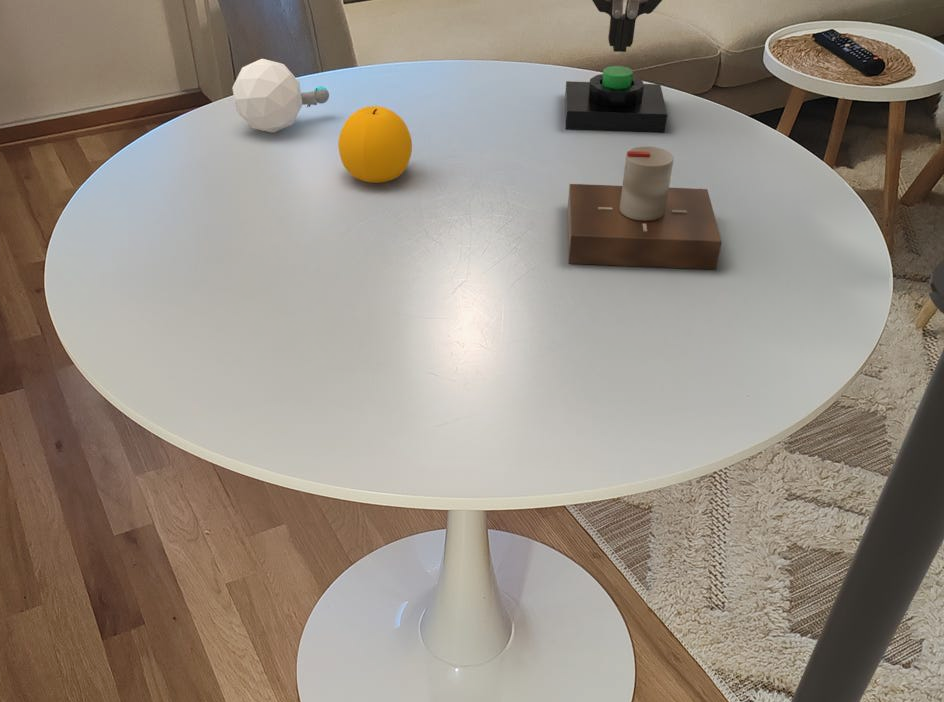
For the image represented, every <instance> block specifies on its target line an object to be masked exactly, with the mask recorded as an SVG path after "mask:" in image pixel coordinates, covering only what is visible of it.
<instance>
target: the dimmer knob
mask: <svg viewBox="0 0 944 702" xmlns="http://www.w3.org/2000/svg"><path fill="white" fill-rule="evenodd" d="M674 159H675V158H674V155H673V154H672V153H671V151H668V150H666V149H664V148H661V147H656V146H637V147H634V148H631V149H629V150H628V151H626V155H625V163H624V170H623V178H622V185H621V186H622V193H621V201H620V212H621V213H622V214H623V215H624V216H626V217H628V218H631V219H634V220H640V221H651V220H656V219H659V218H661V217H662V216H663V215H664V214H665V209H666V203H667V197H668V191H669V188H670V184H671V178H672V170H673V165H674Z"/></svg>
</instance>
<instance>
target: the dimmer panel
mask: <svg viewBox="0 0 944 702" xmlns="http://www.w3.org/2000/svg"><path fill="white" fill-rule="evenodd" d="M621 193H622V185H613V184H612V185H611V184H610V185H609V184H607V185H606V184H588V183H587V184H583V183H569V186H568V197H567V210H566V213H567V214H566V215H567V217H566V219H567V256H568V257H567V262H568V264H570V265H571V264H572V265H573V264H574V265H596V266H597V265H600V266H618V267H619V266H621V267H641V268H642V267H644V268H645V267H646V268H667V269H668V268H670V269H689V270H690V269H693V270H712V271H713V270H716V269H717V265H718V261H719V256H720V251H721V246H722V237H721V235H720V231H719V227H718V223H717V219H716V215H715V212H714V208H713V204H712V202H711V198H710V194H709V191H708V189H707V188H691V187H690V188H689V187H669V191H668V197H667V203H666V209H665V214H664V215H663V216H662V217H661V218H659V219H656V220H651V221H640V220H634V219H631V218H628V217H626V216H624V215H623V214H622V213H621V212H620V201H621Z"/></svg>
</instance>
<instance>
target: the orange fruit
mask: <svg viewBox="0 0 944 702" xmlns="http://www.w3.org/2000/svg"><path fill="white" fill-rule="evenodd" d="M337 143H338V145H337V146H338V147H337V148H338V153H339V158H340V160H341V163H342V166H343V168H345V170H346V171H347V172H348V173H349V174H350V175H351V176H353V177H354V178H355V179H357V180H359V181H362V182H364V183H365V182H366V183H371V184H372V183H373V184H374V183H375V184H380V183H386V182H391V181H392V180H395V179H396V178H398V177H400V175H402V174H403V173H404V171H406V169H407V168H408V166H409V163H410V160H411V157H412V152H413V142H412V136H411V133H410V131H409V128H408V126H407V124H406V122H405V121H404V120H403V118H402V117H401V116H399V115H398V114H397V113H395V112H394V111H393V110H391V109H389V108H386V107H384V106H378V105H371V106H364V107H362V108H359V109H358V110H356V111H354V112H353V113H351V115H350V116H348V118H347V119H346V120H345V122H344V124H343V126H342V127H341V130H340V133H339V136H338V142H337Z"/></svg>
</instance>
